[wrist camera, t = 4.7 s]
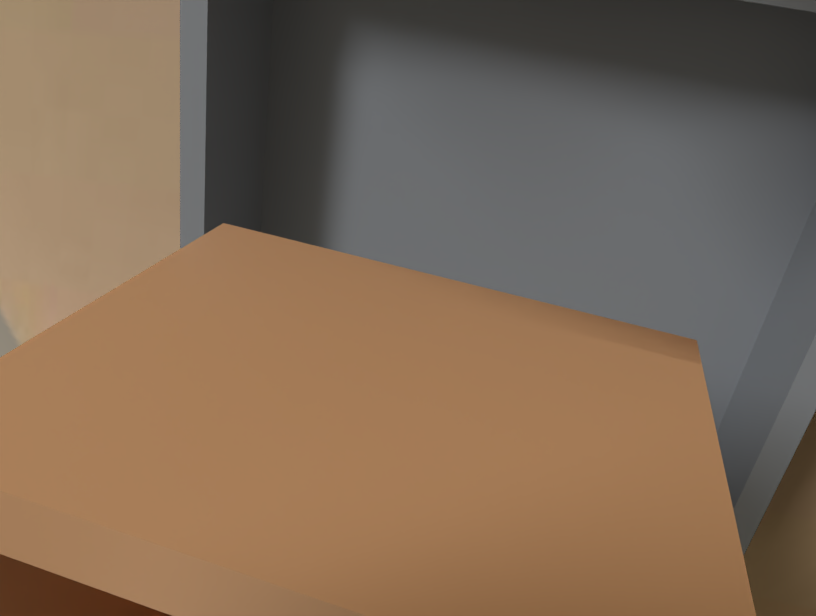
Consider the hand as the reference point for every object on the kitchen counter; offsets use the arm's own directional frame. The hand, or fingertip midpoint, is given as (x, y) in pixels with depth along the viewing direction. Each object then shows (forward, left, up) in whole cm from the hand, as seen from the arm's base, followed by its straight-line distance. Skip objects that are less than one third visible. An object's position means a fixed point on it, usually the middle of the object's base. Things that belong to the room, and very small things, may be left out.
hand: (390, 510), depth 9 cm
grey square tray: (0, 0, -10) cm, 10 cm away
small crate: (0, 0, -1) cm, 1 cm away
